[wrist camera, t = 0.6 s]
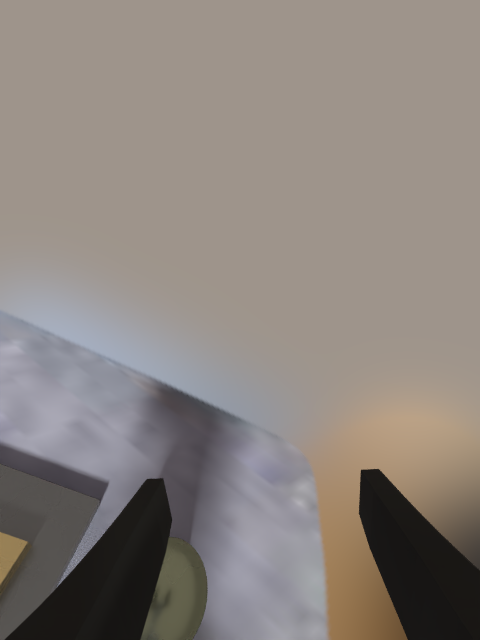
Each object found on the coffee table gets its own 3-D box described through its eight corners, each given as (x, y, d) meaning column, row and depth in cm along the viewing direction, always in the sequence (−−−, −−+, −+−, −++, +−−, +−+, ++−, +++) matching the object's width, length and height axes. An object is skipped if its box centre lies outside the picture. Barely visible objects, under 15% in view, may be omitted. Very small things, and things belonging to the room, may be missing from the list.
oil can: (165, 659, 18) (197, 684, 12) (96, 636, 18) (92, 649, 11) (190, 567, 21) (224, 548, 15) (133, 547, 21) (144, 519, 15)
